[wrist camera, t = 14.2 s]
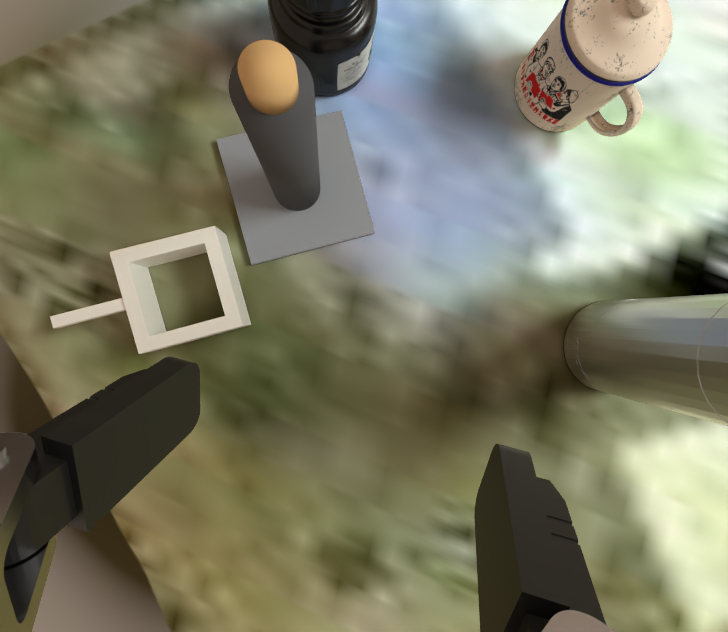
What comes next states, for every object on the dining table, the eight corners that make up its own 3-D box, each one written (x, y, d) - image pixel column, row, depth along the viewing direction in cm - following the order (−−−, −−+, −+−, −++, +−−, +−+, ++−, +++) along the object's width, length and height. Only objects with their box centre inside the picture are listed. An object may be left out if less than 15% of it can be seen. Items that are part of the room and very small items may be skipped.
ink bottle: (364, 109, 37) (380, 11, 25) (272, 95, 36) (244, -13, 24) (374, 11, 37) (395, -134, 25) (283, -5, 37) (260, -162, 25)
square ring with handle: (225, 234, 36) (214, 225, 32) (251, 324, 36) (242, 325, 33) (64, 275, 35) (34, 270, 31) (91, 368, 35) (64, 374, 31)
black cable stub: (313, 159, 36) (299, 14, 19) (325, 204, 36) (323, 103, 19) (267, 170, 36) (209, 33, 18) (280, 216, 36) (235, 123, 18)
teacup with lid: (494, 71, 38) (565, -36, 27) (568, 31, 39) (669, -91, 27) (552, 176, 39) (646, 116, 27) (624, 135, 39) (747, 59, 28)
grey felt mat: (341, 113, 37) (341, 110, 36) (374, 233, 37) (374, 232, 37) (217, 141, 36) (216, 139, 35) (252, 265, 36) (251, 264, 36)
